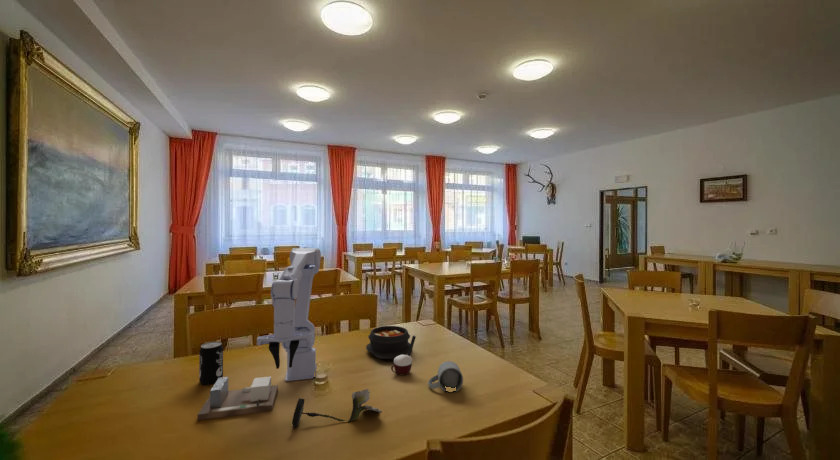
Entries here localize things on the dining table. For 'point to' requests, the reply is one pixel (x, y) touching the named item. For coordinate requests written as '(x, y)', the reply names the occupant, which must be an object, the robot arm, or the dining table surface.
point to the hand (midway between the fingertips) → (284, 366)
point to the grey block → (219, 393)
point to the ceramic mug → (447, 376)
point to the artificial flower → (358, 400)
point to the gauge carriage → (259, 389)
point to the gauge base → (238, 405)
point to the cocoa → (404, 361)
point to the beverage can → (210, 363)
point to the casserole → (388, 342)
